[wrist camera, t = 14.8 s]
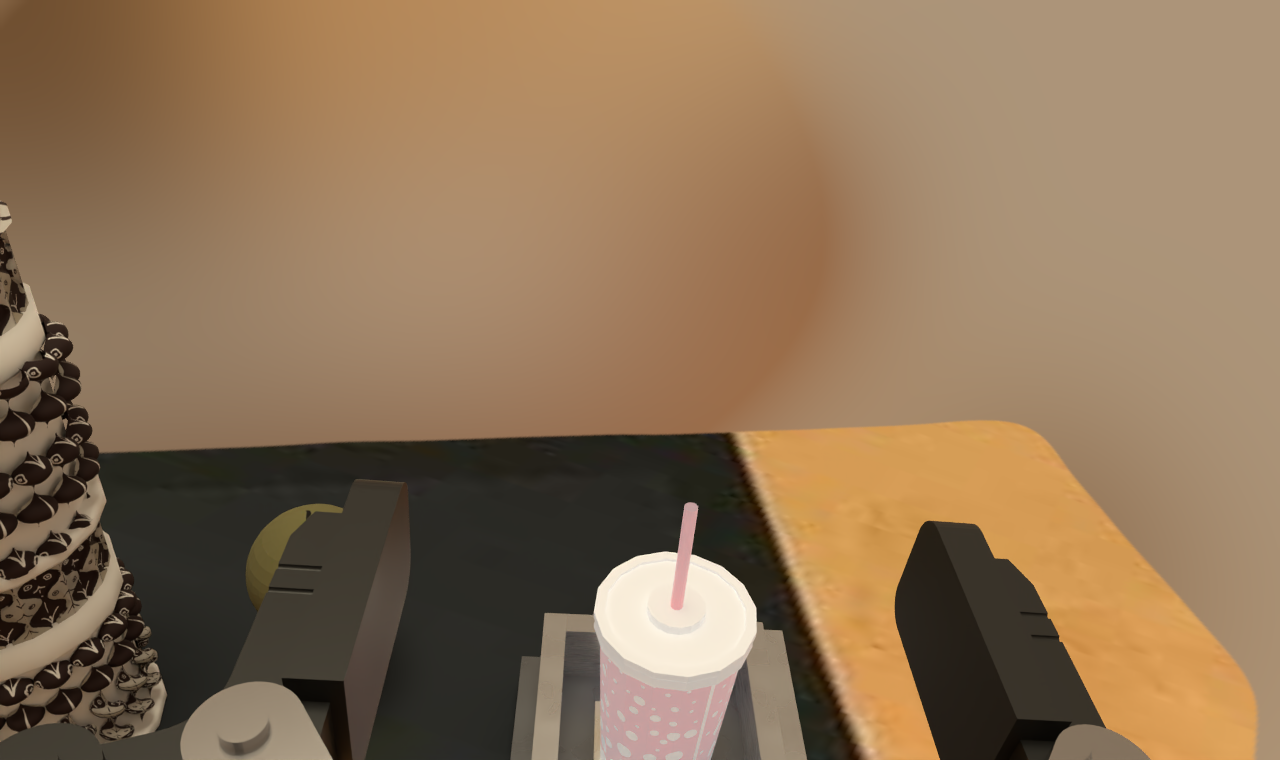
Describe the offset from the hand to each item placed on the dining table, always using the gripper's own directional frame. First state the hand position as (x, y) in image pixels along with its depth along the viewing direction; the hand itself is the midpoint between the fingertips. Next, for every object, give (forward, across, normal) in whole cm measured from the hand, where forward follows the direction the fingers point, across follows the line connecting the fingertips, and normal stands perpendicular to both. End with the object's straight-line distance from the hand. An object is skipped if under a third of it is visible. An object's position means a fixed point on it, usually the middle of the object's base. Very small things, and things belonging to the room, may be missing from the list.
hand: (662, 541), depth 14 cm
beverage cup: (+13, -3, +25) cm, 28 cm away
